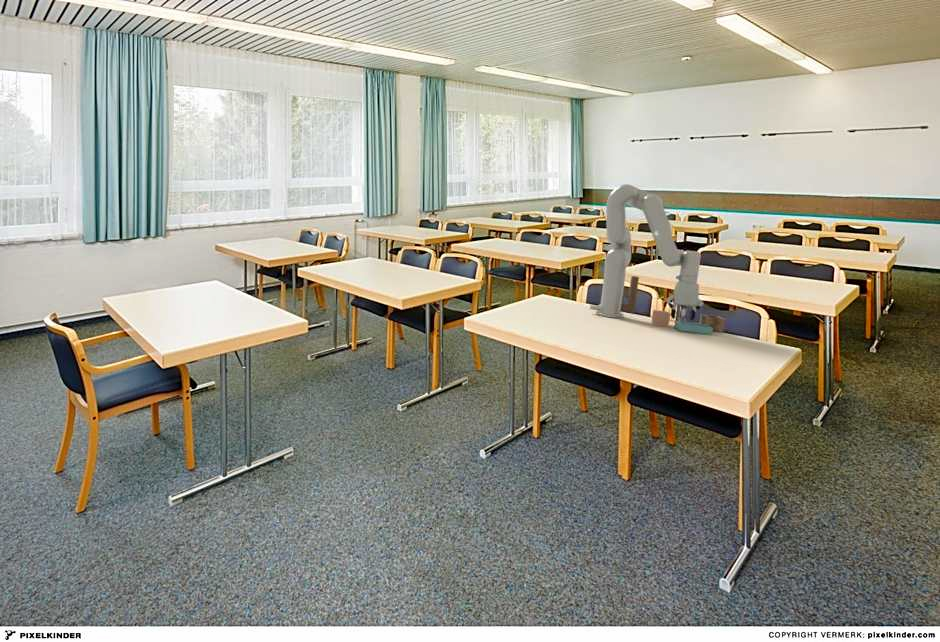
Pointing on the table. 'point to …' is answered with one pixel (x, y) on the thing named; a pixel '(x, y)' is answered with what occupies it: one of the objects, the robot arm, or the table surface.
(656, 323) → the block
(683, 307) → the pin gauge
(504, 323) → the table surface
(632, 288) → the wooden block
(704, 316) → the brown block
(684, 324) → the tray
